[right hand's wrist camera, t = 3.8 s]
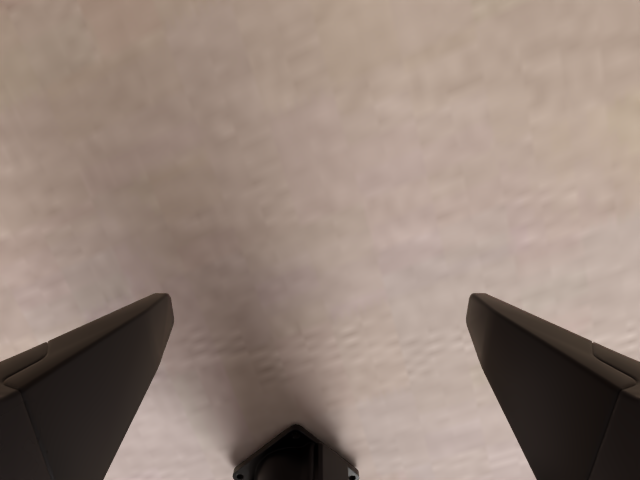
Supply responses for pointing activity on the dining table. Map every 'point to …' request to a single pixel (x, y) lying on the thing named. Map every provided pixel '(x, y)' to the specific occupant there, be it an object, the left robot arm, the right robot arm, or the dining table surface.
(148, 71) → the dining table surface
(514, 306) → the right robot arm
